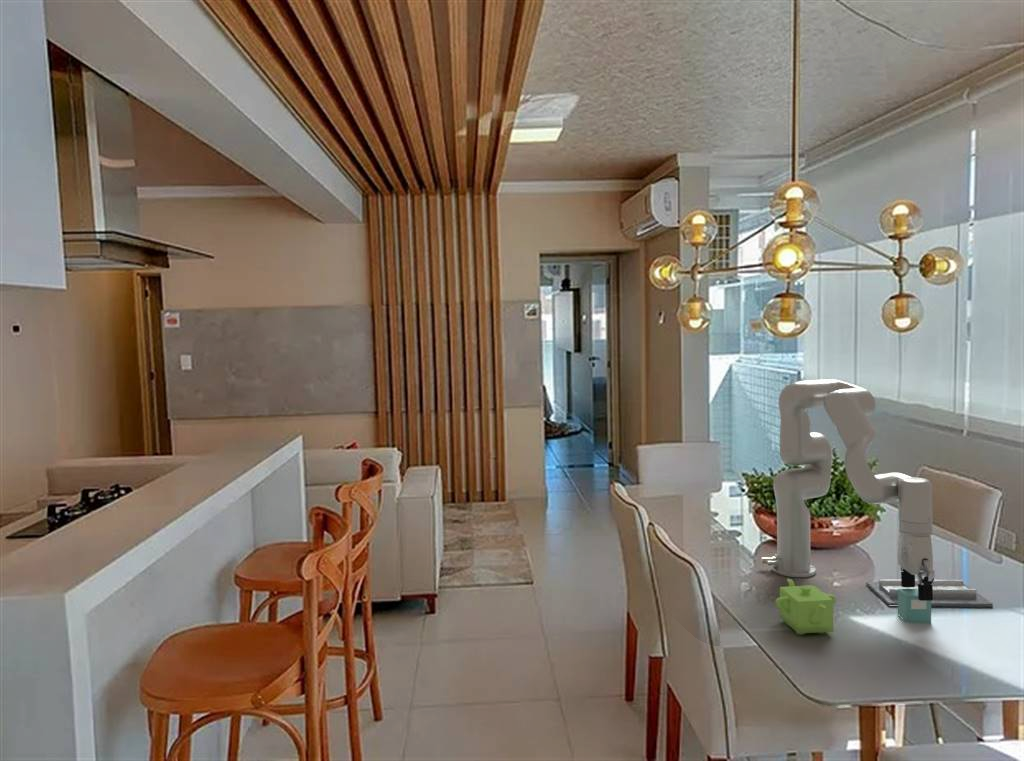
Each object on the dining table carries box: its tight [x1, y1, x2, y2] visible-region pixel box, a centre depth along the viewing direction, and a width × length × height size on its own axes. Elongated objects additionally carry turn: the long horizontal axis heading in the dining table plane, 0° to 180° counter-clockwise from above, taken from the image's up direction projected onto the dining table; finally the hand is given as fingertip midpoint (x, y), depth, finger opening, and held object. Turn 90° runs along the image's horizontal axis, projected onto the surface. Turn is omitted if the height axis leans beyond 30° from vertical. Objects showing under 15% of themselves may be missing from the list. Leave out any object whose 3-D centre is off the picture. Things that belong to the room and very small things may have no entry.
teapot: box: [775, 578, 837, 636], centre depth 181 cm, size 20×15×11 cm
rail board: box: [865, 578, 994, 608], centre depth 200 cm, size 26×16×3 cm, turn 84°
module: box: [897, 589, 932, 624], centre depth 185 cm, size 6×5×7 cm
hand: (916, 593), depth 184 cm, fingers open, 9 cm apart
